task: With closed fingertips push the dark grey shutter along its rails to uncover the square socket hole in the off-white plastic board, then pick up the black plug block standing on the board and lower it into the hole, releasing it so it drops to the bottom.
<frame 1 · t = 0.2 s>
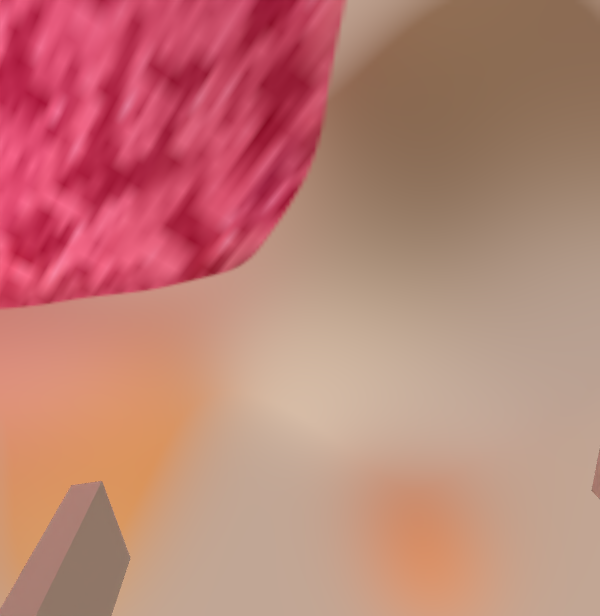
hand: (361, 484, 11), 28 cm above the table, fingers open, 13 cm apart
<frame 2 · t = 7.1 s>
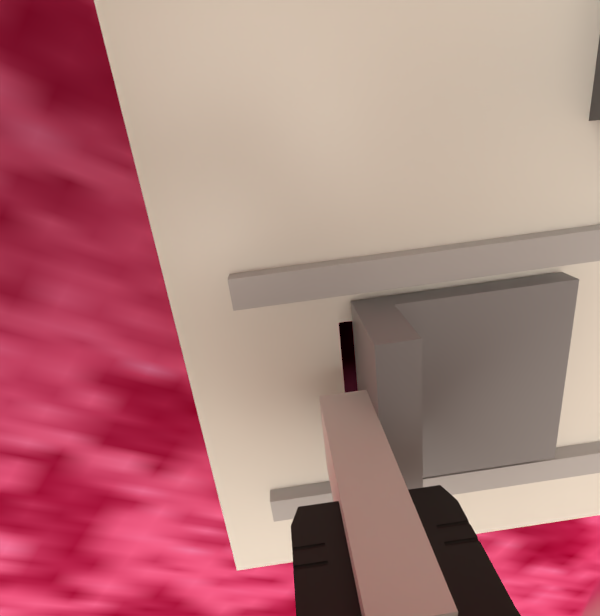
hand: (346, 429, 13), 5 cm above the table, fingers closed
shutter: (475, 405, 13), point 5 cm above the table, slide at 1.2 cm, touching gripper
socket board: (443, 270, 17), on the table
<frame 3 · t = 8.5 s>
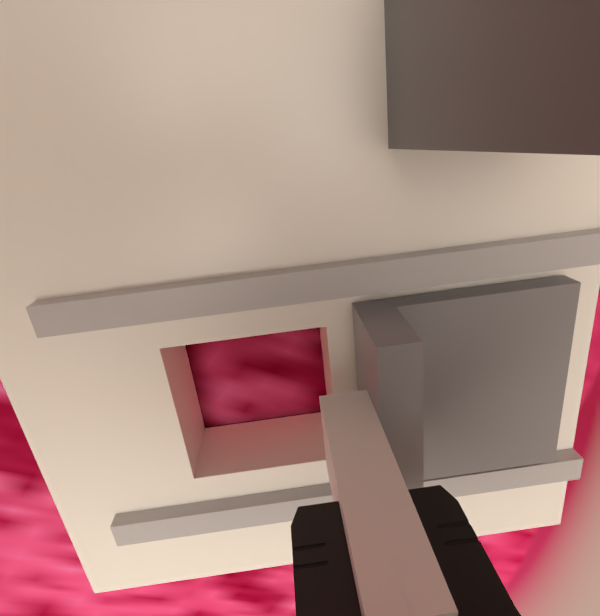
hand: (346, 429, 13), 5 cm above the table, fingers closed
shutter: (476, 407, 13), point 5 cm above the table, slide at 7.1 cm, touching gripper
plug: (459, 60, 11), point 3 cm above the table, touching socket board
socket board: (296, 292, 16), on the table
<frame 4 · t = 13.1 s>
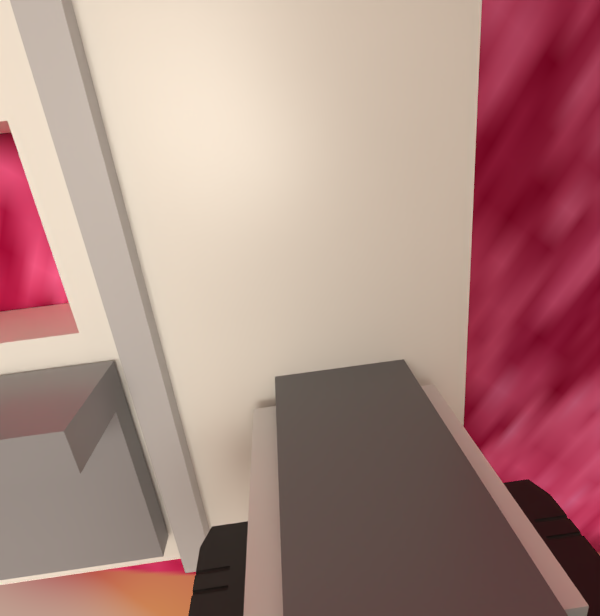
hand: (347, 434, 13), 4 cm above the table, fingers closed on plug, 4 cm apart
shutter: (3, 513, 12), point 5 cm above the table, slide at 7.2 cm
plug: (344, 421, 14), point 3 cm above the table, touching gripper, socket board
socket board: (116, 275, 14), on the table
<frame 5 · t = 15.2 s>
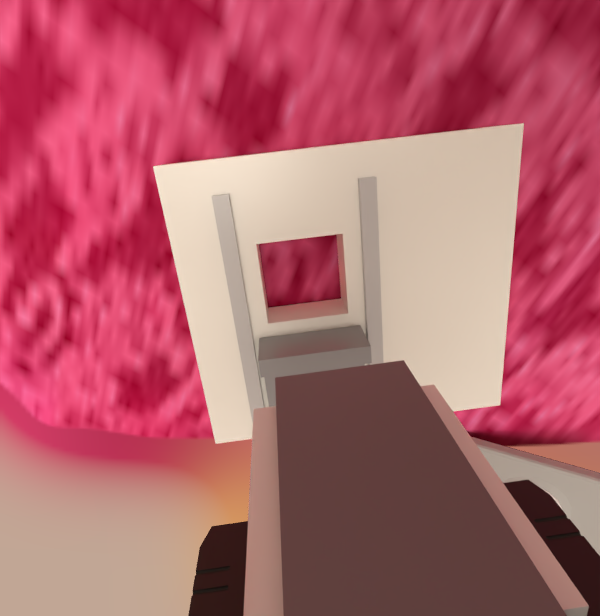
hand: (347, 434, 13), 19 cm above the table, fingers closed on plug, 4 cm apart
shutter: (317, 387, 28), point 5 cm above the table, slide at 7.2 cm
light switch: (504, 466, 39), on the table
plug: (344, 422, 14), point 18 cm above the table, touching gripper
socket board: (343, 288, 31), on the table
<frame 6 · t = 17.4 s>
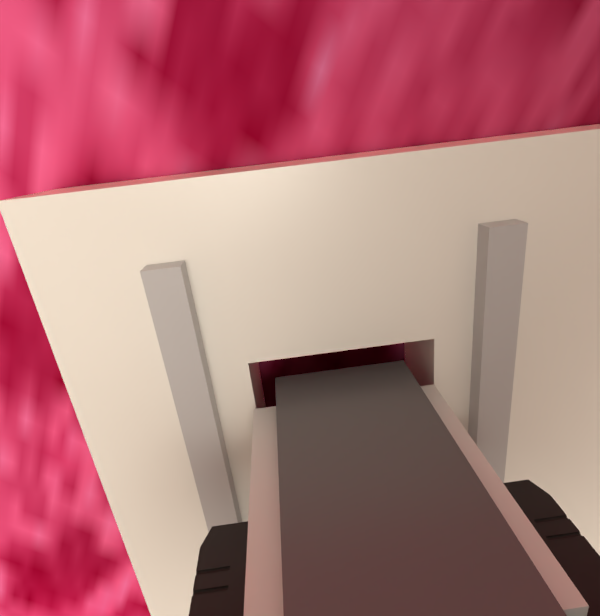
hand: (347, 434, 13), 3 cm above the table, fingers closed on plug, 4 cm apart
plug: (344, 422, 14), point 3 cm above the table, touching gripper
socket board: (411, 411, 17), on the table
when the fingers open (3 cm above the table, at t = 18.8 s): plug stays where it is, resting in socket board.
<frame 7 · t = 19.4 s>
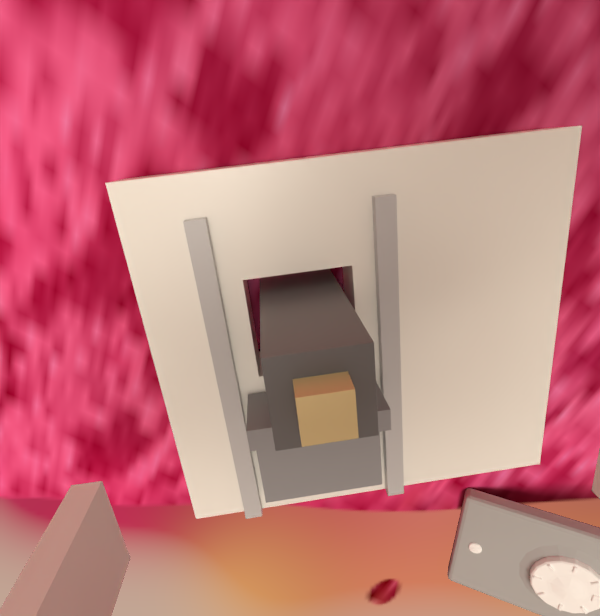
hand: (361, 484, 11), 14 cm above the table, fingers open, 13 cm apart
shutter: (321, 455, 23), point 5 cm above the table, slide at 7.2 cm
light switch: (529, 523, 33), on the table
plug: (298, 304, 25), resting in socket board
socket board: (351, 327, 25), on the table
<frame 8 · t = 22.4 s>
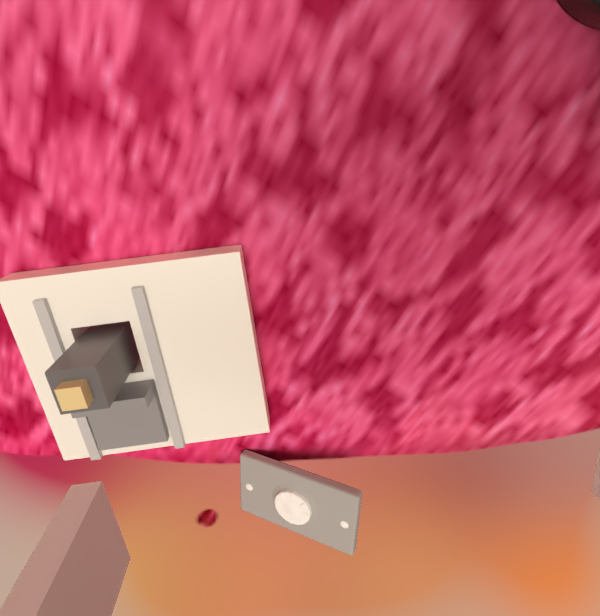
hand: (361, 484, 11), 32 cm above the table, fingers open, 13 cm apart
shutter: (122, 423, 41), point 5 cm above the table, slide at 7.2 cm
light switch: (294, 474, 51), on the table
plug: (118, 337, 43), resting in socket board
socket board: (152, 350, 44), on the table
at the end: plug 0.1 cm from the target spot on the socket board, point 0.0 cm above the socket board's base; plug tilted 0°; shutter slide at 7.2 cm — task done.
